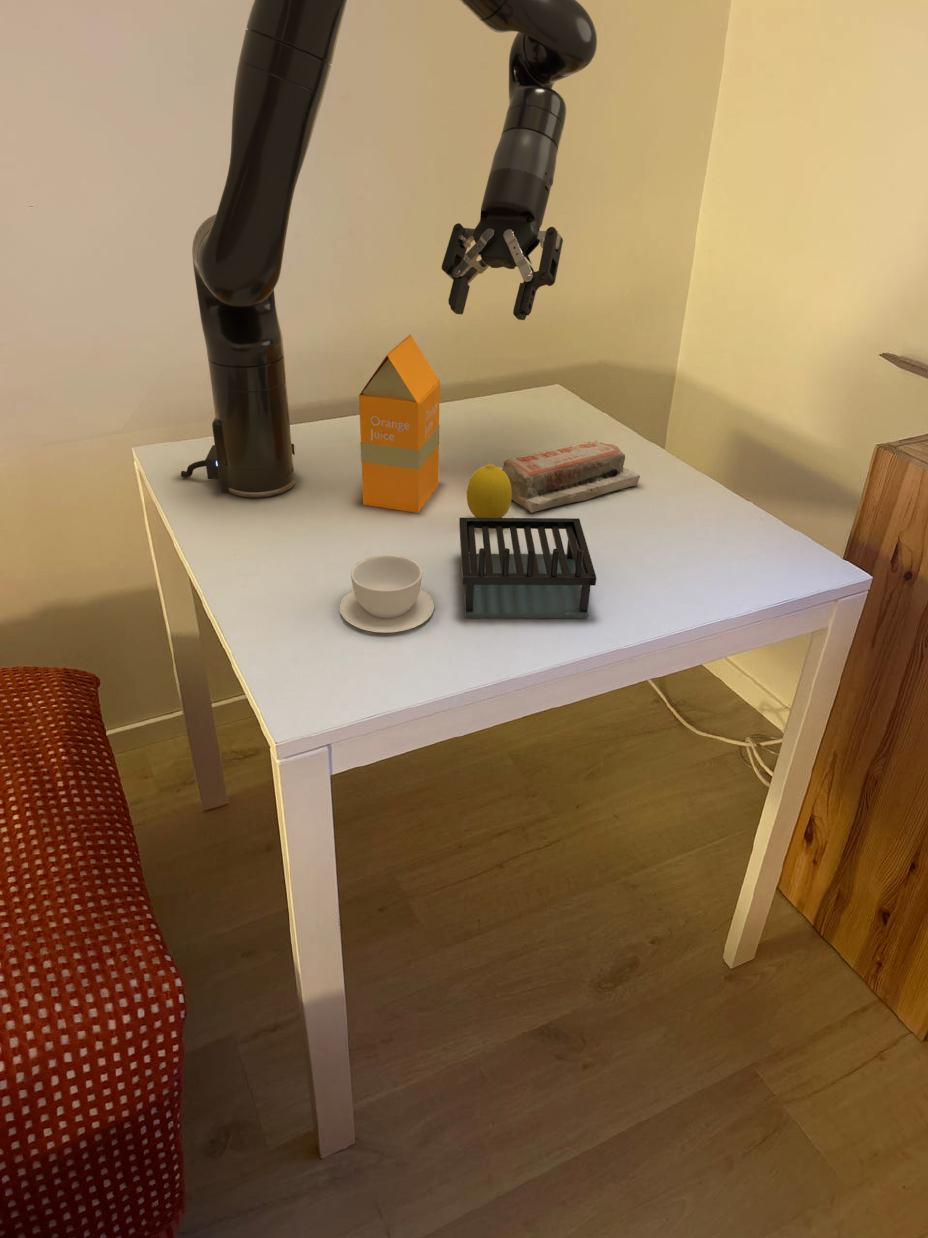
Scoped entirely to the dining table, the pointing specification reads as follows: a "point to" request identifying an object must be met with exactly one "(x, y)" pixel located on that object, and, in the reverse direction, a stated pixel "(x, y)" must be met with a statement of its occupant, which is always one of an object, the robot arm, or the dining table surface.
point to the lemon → (489, 492)
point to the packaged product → (567, 475)
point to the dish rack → (525, 570)
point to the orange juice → (400, 431)
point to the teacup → (386, 595)
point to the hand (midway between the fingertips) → (487, 314)
